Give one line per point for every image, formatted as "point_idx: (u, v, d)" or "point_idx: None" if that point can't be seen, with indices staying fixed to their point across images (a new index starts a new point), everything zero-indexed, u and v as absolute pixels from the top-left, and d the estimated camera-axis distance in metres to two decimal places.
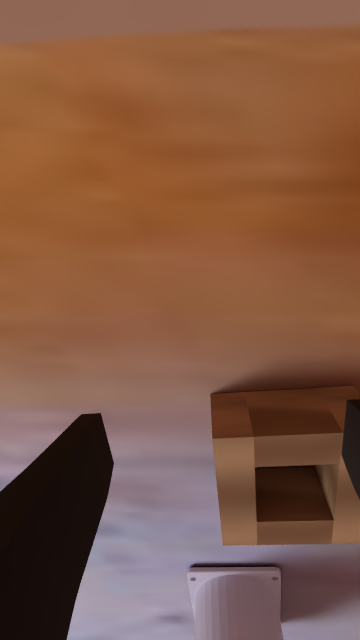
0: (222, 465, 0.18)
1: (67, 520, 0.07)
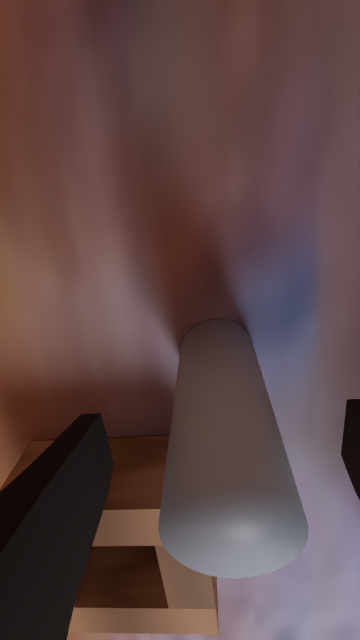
0: (79, 627, 0.17)
1: (67, 520, 0.07)
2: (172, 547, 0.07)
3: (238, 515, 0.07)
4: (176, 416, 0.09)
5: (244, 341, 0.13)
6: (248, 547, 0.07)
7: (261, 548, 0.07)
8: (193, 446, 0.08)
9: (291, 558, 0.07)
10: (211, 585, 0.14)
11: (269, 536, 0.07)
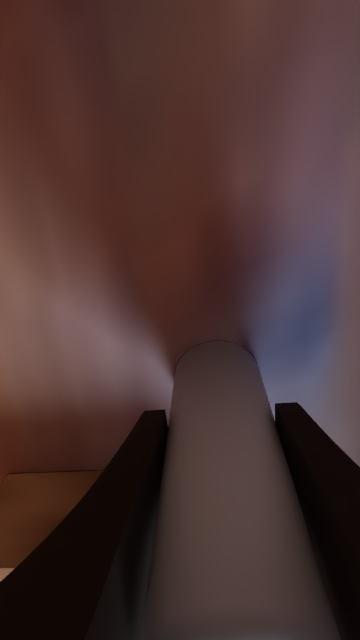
0: None
1: (150, 518, 0.07)
2: None
3: None
4: (167, 477, 0.07)
5: (249, 369, 0.11)
6: None
7: None
8: (187, 538, 0.06)
9: None
10: None
11: None
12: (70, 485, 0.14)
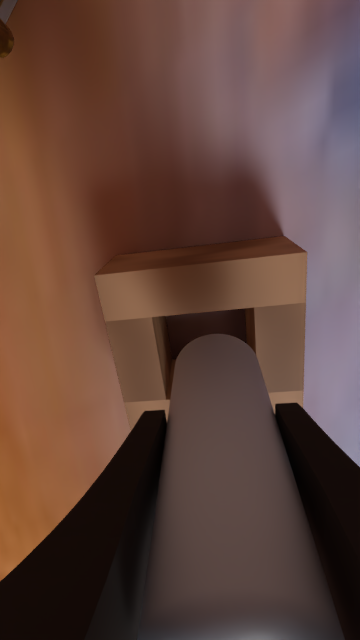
0: None
1: (149, 518, 0.07)
2: None
3: (253, 633, 0.05)
4: (169, 462, 0.07)
5: (252, 363, 0.11)
6: None
7: None
8: (194, 521, 0.06)
9: None
10: (303, 358, 0.15)
11: None
12: (174, 251, 0.17)
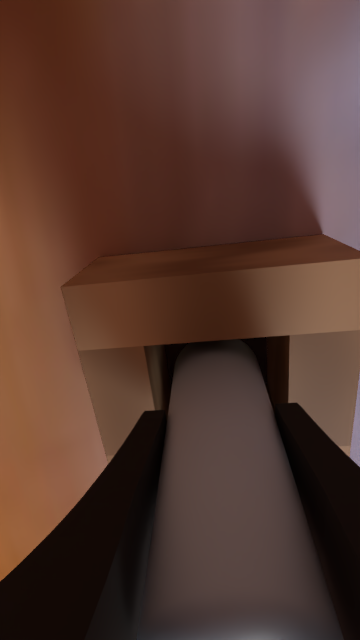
0: None
1: (150, 518, 0.07)
2: None
3: (252, 635, 0.05)
4: (169, 463, 0.07)
5: (252, 364, 0.11)
6: None
7: None
8: (193, 522, 0.06)
9: None
10: (354, 404, 0.11)
11: None
12: (176, 253, 0.13)
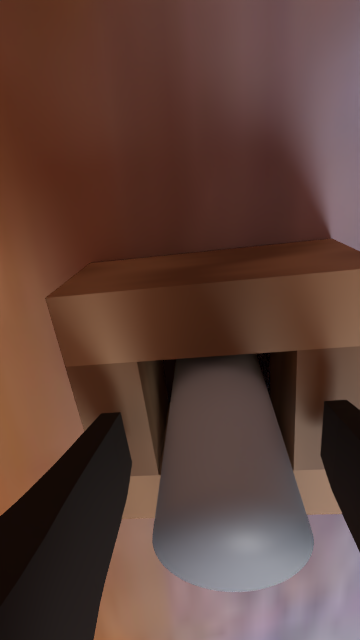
0: None
1: (92, 519, 0.07)
2: (165, 556, 0.07)
3: (241, 527, 0.06)
4: (175, 415, 0.09)
5: None
6: (246, 560, 0.07)
7: (260, 562, 0.07)
8: (196, 449, 0.07)
9: (291, 574, 0.07)
10: None
11: (270, 551, 0.07)
12: (173, 258, 0.12)
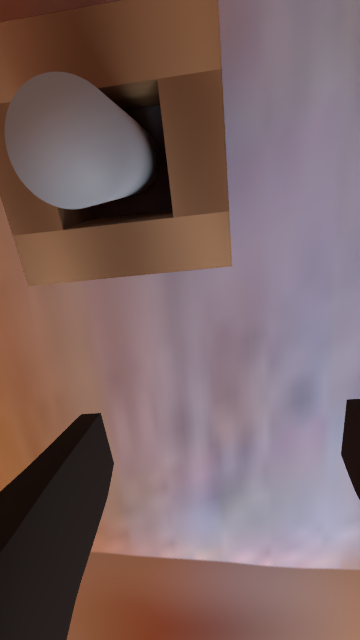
0: (69, 272, 0.14)
1: (67, 520, 0.07)
2: (19, 167, 0.09)
3: (68, 121, 0.08)
4: None
5: None
6: (79, 164, 0.09)
7: (90, 166, 0.09)
8: None
9: (115, 180, 0.09)
10: (224, 159, 0.12)
11: (95, 150, 0.09)
12: None
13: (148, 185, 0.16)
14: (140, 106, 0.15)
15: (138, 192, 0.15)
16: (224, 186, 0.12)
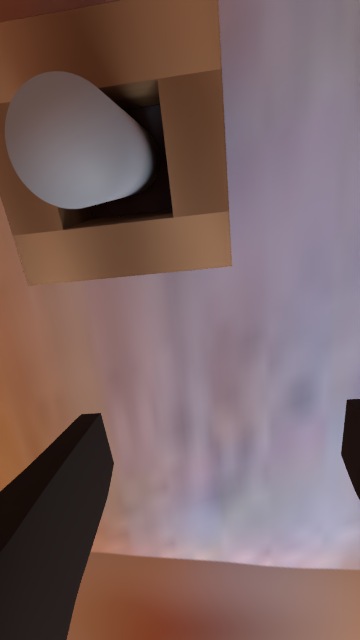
0: (69, 272, 0.14)
1: (67, 520, 0.07)
2: (19, 167, 0.09)
3: (68, 120, 0.08)
4: None
5: None
6: (79, 164, 0.09)
7: (90, 166, 0.09)
8: None
9: (116, 180, 0.09)
10: (225, 159, 0.12)
11: (95, 149, 0.09)
12: None
13: (148, 185, 0.16)
14: (140, 106, 0.15)
15: (138, 192, 0.15)
16: (224, 186, 0.12)
